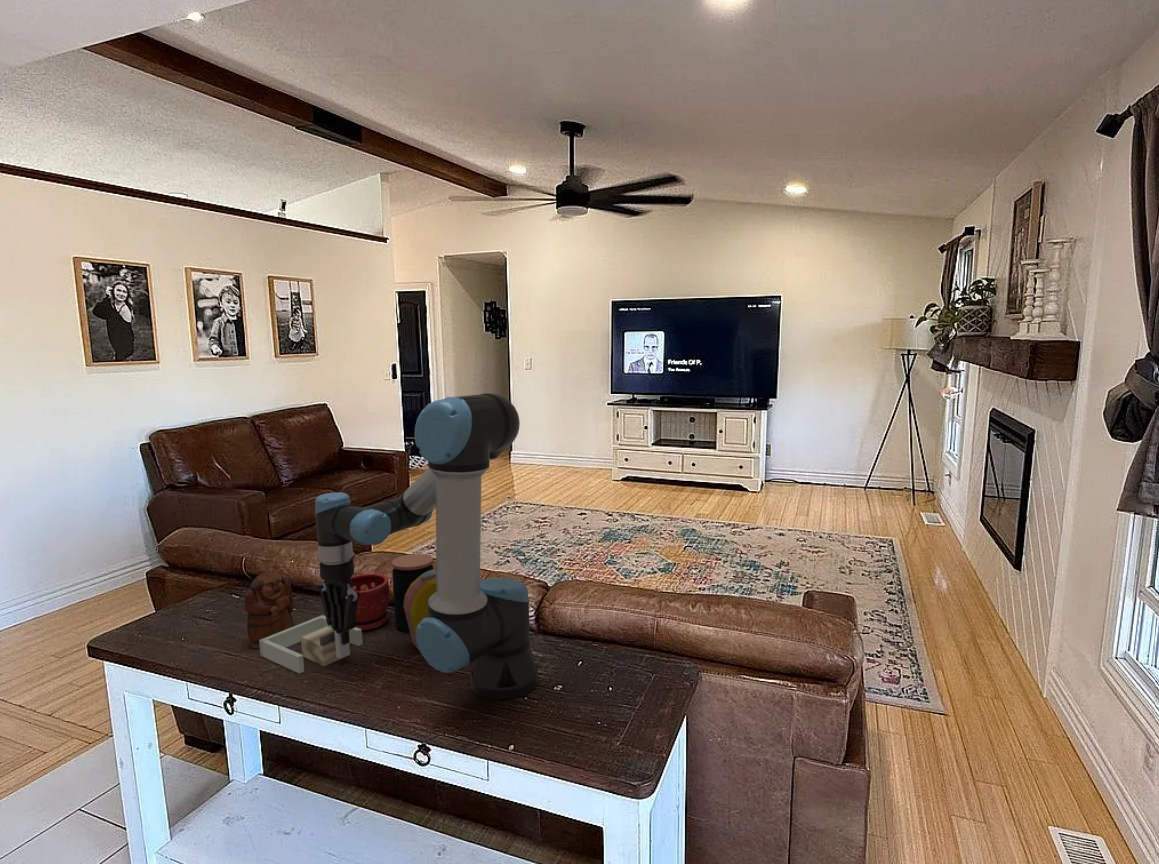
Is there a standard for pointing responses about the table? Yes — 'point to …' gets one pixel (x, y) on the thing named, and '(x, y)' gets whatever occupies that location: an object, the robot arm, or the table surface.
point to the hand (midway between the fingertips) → (343, 655)
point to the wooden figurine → (268, 606)
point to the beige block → (320, 646)
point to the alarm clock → (419, 601)
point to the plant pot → (371, 600)
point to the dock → (292, 660)
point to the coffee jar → (407, 581)
